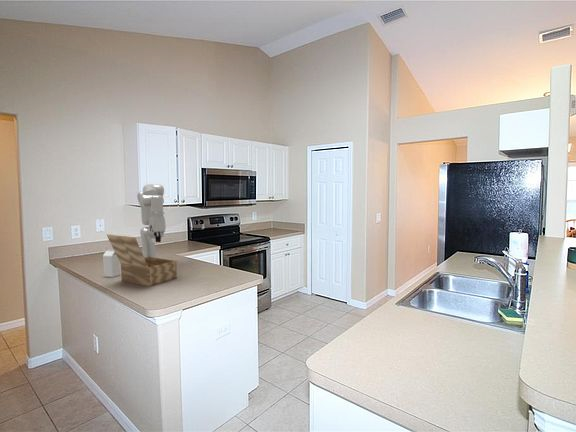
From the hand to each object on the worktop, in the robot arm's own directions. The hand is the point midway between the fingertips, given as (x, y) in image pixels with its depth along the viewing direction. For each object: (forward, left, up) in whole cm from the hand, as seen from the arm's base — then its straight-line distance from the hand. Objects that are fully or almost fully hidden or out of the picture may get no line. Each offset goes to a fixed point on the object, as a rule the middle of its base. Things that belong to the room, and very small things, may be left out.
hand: (158, 241), depth 211 cm
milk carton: (+8, -40, -27) cm, 49 cm away
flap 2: (+16, -2, -4) cm, 17 cm away
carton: (+1, -9, -26) cm, 28 cm away
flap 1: (+16, -16, -4) cm, 23 cm away
